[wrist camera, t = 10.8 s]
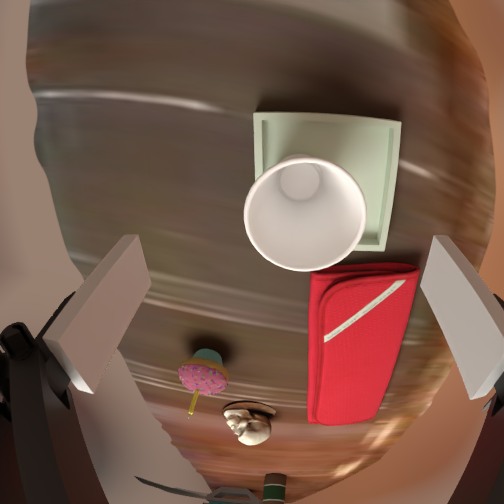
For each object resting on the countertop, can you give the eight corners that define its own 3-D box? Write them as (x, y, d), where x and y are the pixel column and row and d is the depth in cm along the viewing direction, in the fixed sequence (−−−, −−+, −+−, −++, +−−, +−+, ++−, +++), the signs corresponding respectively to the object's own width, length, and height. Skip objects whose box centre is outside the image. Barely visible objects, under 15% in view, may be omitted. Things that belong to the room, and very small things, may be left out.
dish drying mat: (306, 417, 60) (306, 430, 56) (306, 264, 40) (307, 280, 36) (374, 411, 57) (376, 424, 54) (416, 257, 37) (425, 271, 34)
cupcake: (220, 376, 53) (208, 431, 43) (178, 359, 52) (160, 412, 41) (240, 353, 49) (230, 413, 39) (194, 333, 48) (175, 391, 37)
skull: (213, 421, 62) (216, 439, 52) (230, 384, 64) (235, 397, 54) (260, 436, 63) (269, 454, 53) (277, 400, 65) (289, 414, 55)
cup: (356, 155, 31) (387, 185, 21) (323, 231, 36) (336, 285, 26) (271, 124, 30) (265, 138, 21) (244, 204, 35) (229, 251, 26)
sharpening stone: (263, 489, 95) (260, 510, 86) (265, 492, 99) (263, 513, 90) (206, 484, 100) (202, 505, 90) (211, 489, 103) (208, 508, 94)
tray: (255, 111, 30) (253, 112, 28) (394, 120, 28) (401, 122, 27) (258, 239, 38) (257, 247, 36) (379, 242, 36) (384, 251, 34)
